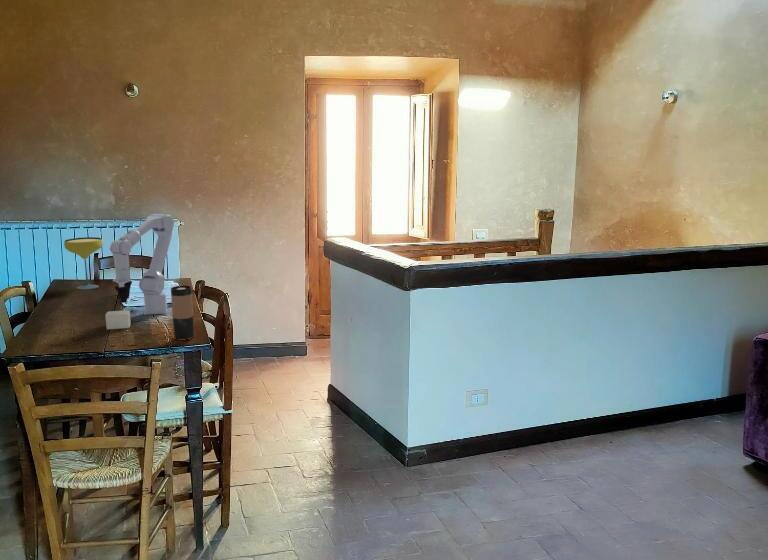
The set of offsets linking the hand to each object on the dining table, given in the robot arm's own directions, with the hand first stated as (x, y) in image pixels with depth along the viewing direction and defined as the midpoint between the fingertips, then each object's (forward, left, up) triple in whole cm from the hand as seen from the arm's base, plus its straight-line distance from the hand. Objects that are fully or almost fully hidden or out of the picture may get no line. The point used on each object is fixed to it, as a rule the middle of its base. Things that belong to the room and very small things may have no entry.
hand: (125, 300), depth 295 cm
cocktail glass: (+28, -76, -9) cm, 82 cm away
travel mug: (-25, +33, -9) cm, 42 cm away
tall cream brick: (+2, +9, -9) cm, 13 cm away
